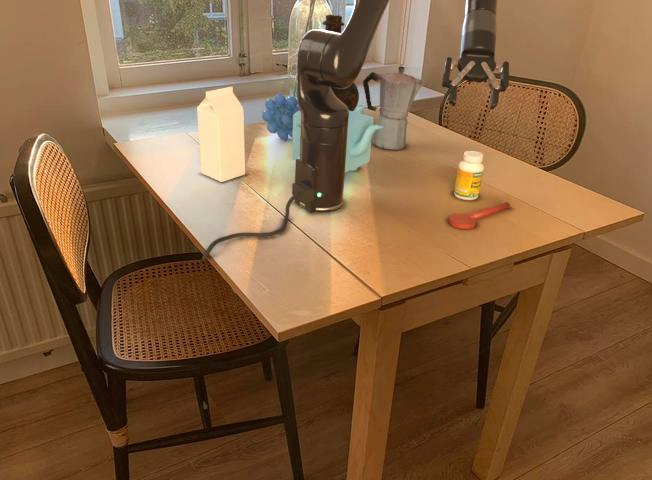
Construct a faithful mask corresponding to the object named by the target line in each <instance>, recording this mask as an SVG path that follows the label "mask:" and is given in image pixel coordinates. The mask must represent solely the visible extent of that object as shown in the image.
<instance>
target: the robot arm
mask: <svg viewBox="0 0 652 480" xmlns="http://www.w3.org/2000/svg"><path fill="white" fill-rule="evenodd" d="M389 3H390V0H354V4H353V9H352V11H351V12H352V13H351V15H350V17H349V20H348V22H347V24H346V26H345V28H344V29H343V31H341V33H336V32H331V31H325V29H317V28H316V29H311V30H309V31H307V32H306V33H305V34H304V35H303V37H302V38H301V40H300V42H299V45H298V48H297V54H296V86H297V87H296V88H297V89H296V91H297V92H296V100H297V103H298V104H297V106H299V109H300V112H301V132H300V158H297V159H296V161H295V160H294V161H295V163H294V164H295V165H294V166H295V167H294V182H292V183H291V192H292V193H291V195H292V196H291V197H290V198H289V199H288V201H287V202H286V205H285V213H284V218H283V223H282V226H281V227H280V228H278V229H276V230H273V231H269V232H237V233H232V234H228V235H225V236H221V237H219V238H216V239H215V240H213V241H212V242H211V243H210V244H209V246H207V248H206V249H205V251H204V253H203V255H202V257H201V260H206V259H207V258H208V256H209V255H210V253H211V252H212V250H213V249H214V248H215V246H217V245H218V244H220V243H222V242H225V241H228V240H232V239H235V238H241V237H242V238H243V237H245V238H246V237H253V238H254V237H256V238H263V237H264V238H265V237H266V238H267V237H272V236H275V235H277V234H280V233H282V232H284V231H286V228H287V224H288V221H289V218H290V208H291V205H292V204H293V202H294V203H295V204H296V205H298V206H299V207H301V208H302V209H305V210H306V211H307V212H309V213H311V214H312V213H331V212H335V211H338V210H339V209H341V208H342V207H343V206H344V190H345V176H346V175H345V174H346V173H345V163H346V149H347V135H348V121H349V109H348V107H347V106H346V105H345V104H344V103H343V102H342V101H340V100H339V99H338V98H337V97H336V96H335V94H334V93H333V91H332V89H331V87H333V88H338V89H345V88H347V87H349V86H351V85H352V84H353V83H355V81H356V80H357V79H358V76H359V75H360V72H361V70H362V69H363V66H364V64H365V61H366V59H367V56H368V53H369V51H370V48H371V45H372V43H373V40H374V37H375V35H376V32H377V30H378V27H379V24H380V22H381V20H382V18H383V16H384V13H385V11H386V9H387V7H388V5H389ZM497 15H498V0H464V16H463V23H462V27H461V34H460V50H459V51H460V52H459V59H458V60H455V59H453V58H452V57H450V56H448V57H446V59H445V63H444V66H443V73H442V80H441V87H442V88H447V89H448V90H449V92H448V93H449V94H448V103H449V104H451V105H450V107H455V106H456V105H457V97H458V87H459V86H460V85H461V84H462V83H463V82H464V81H466V82H467V83H472V82H475V83H480V84H481V83H482V82H483V84H485V86H486V87H487V88H488V89H489V90H490V92H491V93H490V101H489V110H494V109H495V108H496V107H497V106H498V104H499V98H500V93H505V92H506V90H507V89H508V87H509V85H510V63H509V61H504V62H503V63H501V62H500V63H497V62H496V60H495V57H496V56H495V54H496V44H497V32H498V31H497V29H498V23H497V22H498V21H497ZM455 67H456V68H457V70H458V72H459V73H458V74H457V76H456V77H455V78H454V79H453V80H451V79H450V76H451V71H453V70H455V69H454V68H455ZM495 70H496V71H497V74H498V75H500V78H499V79H500V83H499V82H498V80H497V79H496V76H495V74H494V71H495ZM202 404H203V406H202V407H203V409H204V410H207V409H208V405H207V404H206V402H205V401H204V400H202Z"/></svg>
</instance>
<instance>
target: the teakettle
mask: <svg viewBox="0 0 652 480" xmlns="http://www.w3.org/2000/svg"><path fill="white" fill-rule="evenodd" d="M366 107H367V103H360V104H357V106H356V108H355V110H354V111H349V121H348V135H347V149H346V163H345V174H346V173H348V172H350V171H352V172H353V171H357V170H359V169H358V168H360V167H361V166H364V165H367V164H369V163H370V159H371V151H372V150H371V149H372V138H373V135H374V132H375V131H377V130H378V129H382V128H383V127H382V126H379V125H377V124H374V116H371V115H367V114H365V113H362V112H363V111H364V109H365V108H366ZM300 132H301V112H300V111H297V112H296V113H295V114H293V138H292V146H291V147H292V148H291V149H292V150H291V151H292V153H291V155H292V156H291V158H292V160H293V161H296V159H297V158H300Z"/></svg>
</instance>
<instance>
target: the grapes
mask: <svg viewBox="0 0 652 480" xmlns="http://www.w3.org/2000/svg"><path fill="white" fill-rule="evenodd" d="M264 107H265V108H266V110H264V111H263V112H262V114H261V118H262V119H263V121H264V122H266V123H267V125H266V128H267V131H268V132H269V133H271V134H276V135H277V137H278V138H279V139H280V140H287V139H288V138H289V137H290V138H292V139H293V114H295V113H296V112H297V111H300V109H299V106H298V100H297V98H296V97H295V96H291V95H290V96H288V97H286V96H285V95H284V94H283V93H277V94H275V95H274V99H271V98H268V99H267V100H265V103H264Z"/></svg>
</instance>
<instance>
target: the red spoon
mask: <svg viewBox="0 0 652 480" xmlns="http://www.w3.org/2000/svg"><path fill="white" fill-rule="evenodd" d="M510 207H511V203H510V202H509V201H505V202H502V203H499V204H496V205H493V206H489V207H487V208H483V209H481V210H478V211H475V212H472V213H469V214H467V213H453V214H451V215H449V218H448V223H449V224H450V226H452V227H454V228H456V229H461V230H469V229H473V228H475V227H476V224H477V220H478V219H481V218H484V217H487V216H490V215H492V214H495V213H499V212H502V211H506V210H508V209H510Z"/></svg>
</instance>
